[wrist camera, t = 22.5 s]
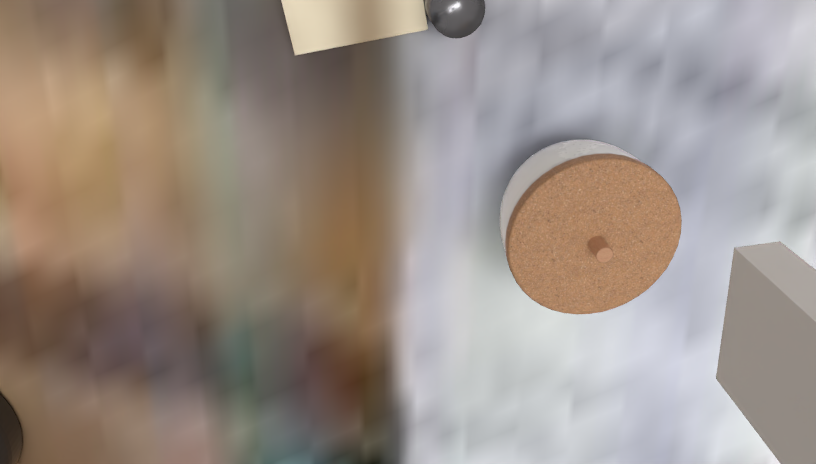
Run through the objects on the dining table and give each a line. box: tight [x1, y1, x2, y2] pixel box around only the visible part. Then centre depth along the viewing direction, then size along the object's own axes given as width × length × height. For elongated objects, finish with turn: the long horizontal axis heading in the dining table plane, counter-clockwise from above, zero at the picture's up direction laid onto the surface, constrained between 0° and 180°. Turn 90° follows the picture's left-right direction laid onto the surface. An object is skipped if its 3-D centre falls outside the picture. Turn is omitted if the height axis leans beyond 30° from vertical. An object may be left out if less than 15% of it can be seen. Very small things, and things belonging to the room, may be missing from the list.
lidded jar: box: [500, 139, 682, 314], centre depth 42 cm, size 11×11×9 cm
